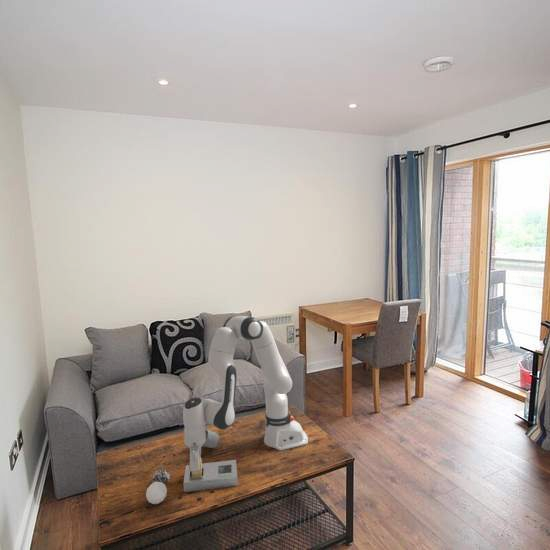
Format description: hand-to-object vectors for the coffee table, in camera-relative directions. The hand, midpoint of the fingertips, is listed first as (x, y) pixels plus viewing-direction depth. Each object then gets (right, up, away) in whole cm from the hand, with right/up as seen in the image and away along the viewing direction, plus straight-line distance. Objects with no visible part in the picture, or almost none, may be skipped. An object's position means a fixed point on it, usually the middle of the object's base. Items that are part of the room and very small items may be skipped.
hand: (196, 468), depth 160 cm
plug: (0, -6, +1) cm, 6 cm away
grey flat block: (+6, -6, +2) cm, 8 cm away
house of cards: (-17, -7, 0) cm, 18 cm away
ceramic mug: (0, -3, +27) cm, 27 cm away
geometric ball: (-13, -8, -11) cm, 19 cm away
